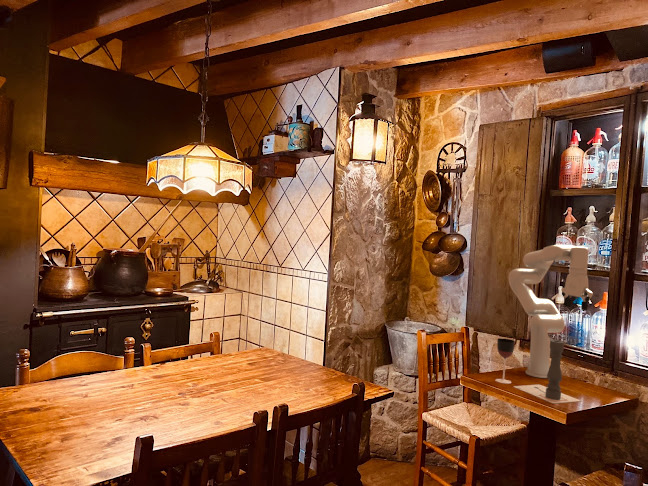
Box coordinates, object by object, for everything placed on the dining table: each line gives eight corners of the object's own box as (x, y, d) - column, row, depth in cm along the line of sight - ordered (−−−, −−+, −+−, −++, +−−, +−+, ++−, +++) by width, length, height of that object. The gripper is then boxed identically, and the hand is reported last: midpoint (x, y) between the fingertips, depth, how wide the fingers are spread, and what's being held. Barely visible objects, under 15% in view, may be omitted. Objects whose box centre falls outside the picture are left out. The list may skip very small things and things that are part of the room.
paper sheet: (513, 386, 240) (513, 386, 240) (539, 385, 246) (539, 384, 246) (553, 403, 218) (553, 402, 218) (581, 401, 223) (581, 400, 223)
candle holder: (562, 400, 222) (566, 343, 221) (546, 398, 223) (551, 342, 222) (558, 396, 228) (563, 340, 227) (544, 394, 229) (548, 339, 228)
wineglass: (495, 382, 246) (497, 341, 246) (494, 377, 254) (497, 337, 254) (512, 384, 244) (515, 343, 243) (511, 380, 252) (514, 339, 252)
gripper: (557, 270, 249) (555, 305, 250) (587, 274, 233) (585, 311, 234) (569, 271, 252) (566, 305, 252) (599, 274, 236) (597, 311, 236)
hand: (575, 308), depth 243 cm, fingers open, 9 cm apart
